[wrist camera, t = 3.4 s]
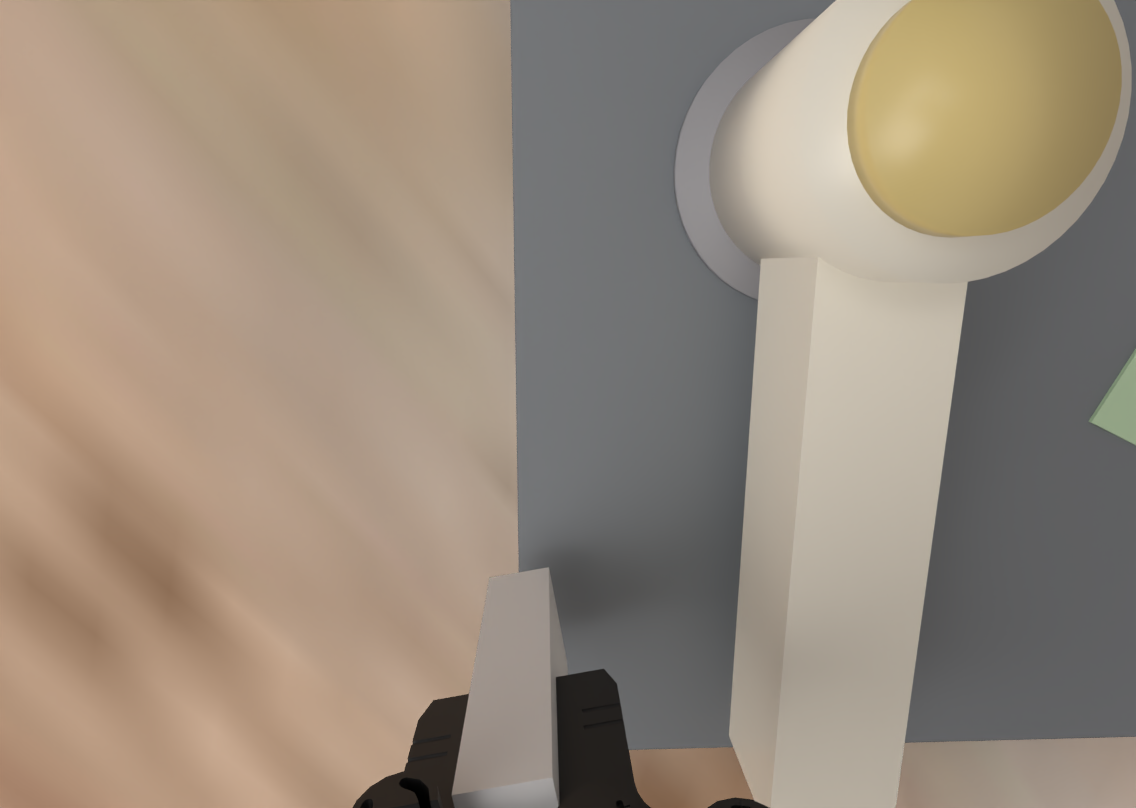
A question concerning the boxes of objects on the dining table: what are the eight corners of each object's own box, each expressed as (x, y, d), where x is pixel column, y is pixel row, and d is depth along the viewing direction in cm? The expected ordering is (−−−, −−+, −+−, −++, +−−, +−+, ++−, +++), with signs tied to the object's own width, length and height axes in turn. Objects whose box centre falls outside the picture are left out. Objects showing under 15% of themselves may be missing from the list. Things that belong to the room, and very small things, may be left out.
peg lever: (714, 45, 14) (835, -111, 8) (937, 49, 14) (1208, -100, 8) (679, 785, 18) (742, 1026, 12) (851, 780, 18) (992, 1015, 12)
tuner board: (510, -197, 14) (505, -251, 13) (1585, -164, 15) (1697, -209, 14) (522, 723, 19) (520, 760, 18) (1326, 703, 20) (1387, 737, 19)
